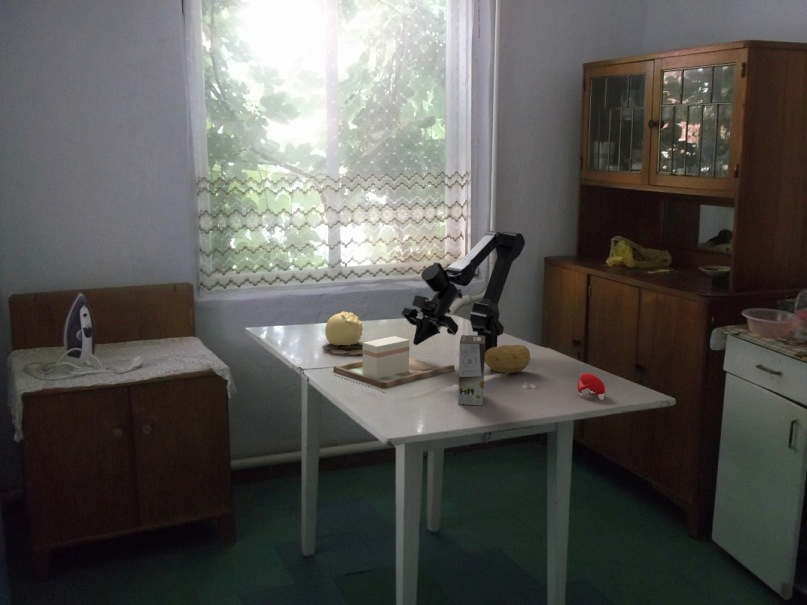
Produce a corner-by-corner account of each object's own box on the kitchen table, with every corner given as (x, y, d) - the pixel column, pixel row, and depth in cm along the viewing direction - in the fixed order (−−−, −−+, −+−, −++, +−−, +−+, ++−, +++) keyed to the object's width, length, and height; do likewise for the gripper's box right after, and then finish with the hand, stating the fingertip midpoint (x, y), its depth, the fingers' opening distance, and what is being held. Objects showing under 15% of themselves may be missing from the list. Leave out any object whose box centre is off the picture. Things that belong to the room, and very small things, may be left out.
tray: (403, 359, 253) (403, 351, 253) (454, 373, 238) (454, 365, 238) (333, 375, 235) (333, 366, 234) (383, 392, 220) (383, 383, 219)
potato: (476, 370, 242) (477, 343, 241) (520, 366, 247) (521, 340, 245) (491, 379, 233) (492, 351, 232) (536, 375, 238) (537, 348, 236)
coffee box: (483, 406, 210) (485, 343, 207) (457, 404, 210) (459, 342, 207) (483, 395, 219) (485, 335, 216) (459, 394, 219) (460, 334, 216)
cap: (569, 384, 219) (585, 377, 214) (580, 372, 222) (596, 365, 218) (587, 408, 219) (603, 402, 214) (597, 396, 223) (613, 390, 218)
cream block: (394, 366, 240) (394, 336, 239) (409, 370, 236) (409, 339, 234) (362, 374, 232) (362, 342, 230) (376, 378, 228) (377, 346, 226)
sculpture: (363, 348, 265) (363, 315, 263) (324, 349, 264) (324, 315, 262) (362, 340, 276) (362, 308, 274) (325, 340, 275) (325, 308, 273)
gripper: (406, 280, 247) (378, 322, 242) (451, 289, 234) (423, 334, 229) (424, 302, 254) (398, 344, 249) (470, 312, 241) (443, 356, 235)
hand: (414, 344), depth 240 cm, fingers closed
